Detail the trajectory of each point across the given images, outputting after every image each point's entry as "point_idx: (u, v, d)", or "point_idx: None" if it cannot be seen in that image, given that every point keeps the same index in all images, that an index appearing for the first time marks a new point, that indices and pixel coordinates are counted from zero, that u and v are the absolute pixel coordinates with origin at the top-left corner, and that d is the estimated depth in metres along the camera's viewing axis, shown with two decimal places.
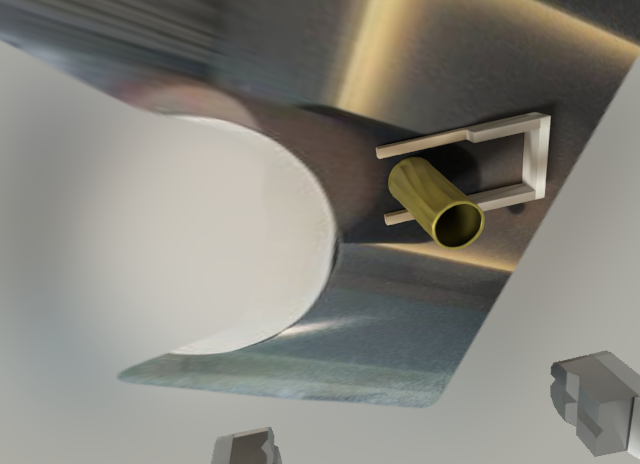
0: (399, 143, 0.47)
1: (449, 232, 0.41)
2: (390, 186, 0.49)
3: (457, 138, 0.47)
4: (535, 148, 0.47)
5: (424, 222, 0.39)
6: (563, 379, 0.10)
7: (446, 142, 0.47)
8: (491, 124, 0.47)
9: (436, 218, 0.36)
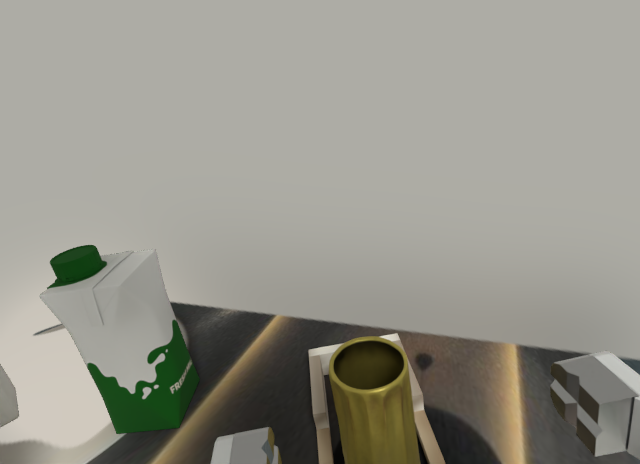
0: None
1: None
2: None
3: (326, 438, 0.36)
4: None
5: (380, 419, 0.24)
6: (563, 379, 0.10)
7: (329, 451, 0.34)
8: None
9: (352, 390, 0.23)
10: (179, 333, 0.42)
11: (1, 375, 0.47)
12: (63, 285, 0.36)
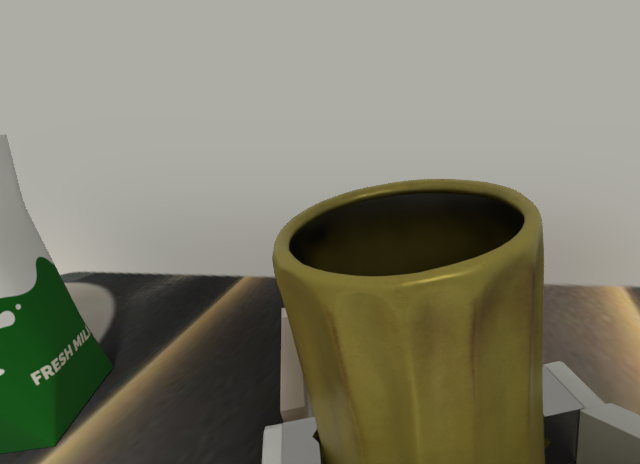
0: None
1: None
2: None
3: None
4: None
5: (458, 394, 0.06)
6: None
7: None
8: None
9: (346, 282, 0.06)
10: (56, 282, 0.24)
11: None
12: None
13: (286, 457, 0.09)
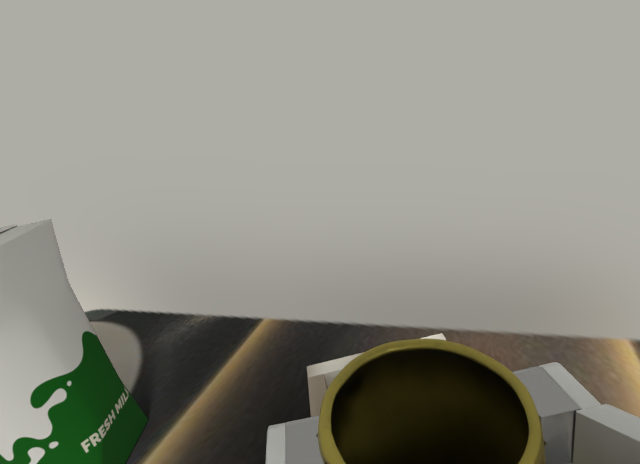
0: None
1: None
2: None
3: None
4: None
5: None
6: None
7: None
8: None
9: None
10: (99, 352, 0.26)
11: None
12: None
13: (290, 456, 0.09)
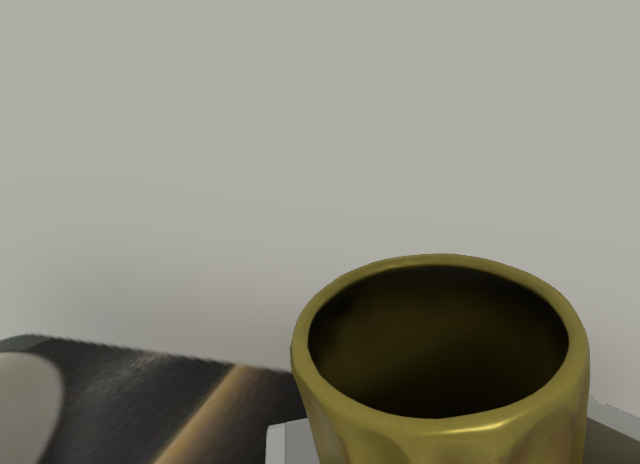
0: None
1: None
2: None
3: None
4: None
5: None
6: None
7: None
8: None
9: (359, 416, 0.06)
10: None
11: None
12: None
13: (290, 456, 0.09)
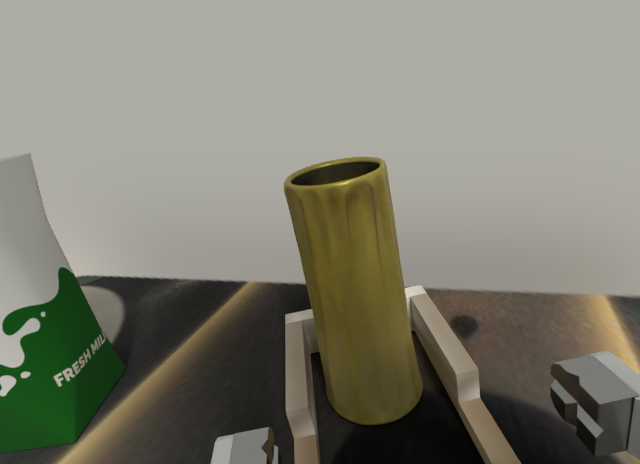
0: None
1: None
2: (378, 416, 0.22)
3: (311, 452, 0.20)
4: None
5: (344, 231, 0.18)
6: (563, 379, 0.10)
7: None
8: None
9: (305, 187, 0.18)
10: (76, 291, 0.26)
11: None
12: None
13: None
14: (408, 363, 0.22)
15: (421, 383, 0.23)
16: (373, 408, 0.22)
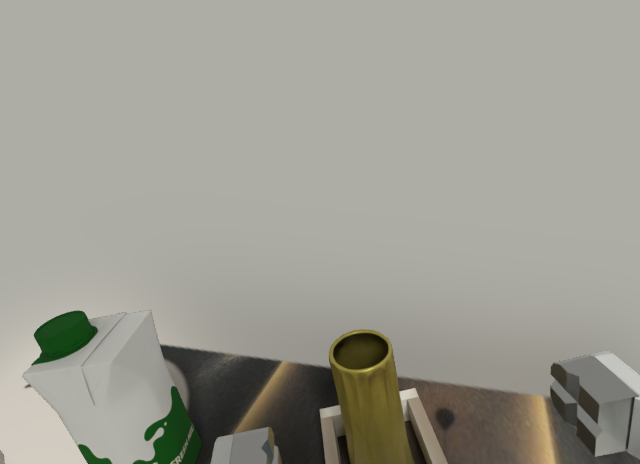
0: None
1: None
2: None
3: None
4: None
5: (367, 393, 0.30)
6: (563, 379, 0.10)
7: None
8: None
9: (344, 369, 0.30)
10: (179, 399, 0.38)
11: None
12: (49, 361, 0.32)
13: None
14: (405, 460, 0.34)
15: None
16: None
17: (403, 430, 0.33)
